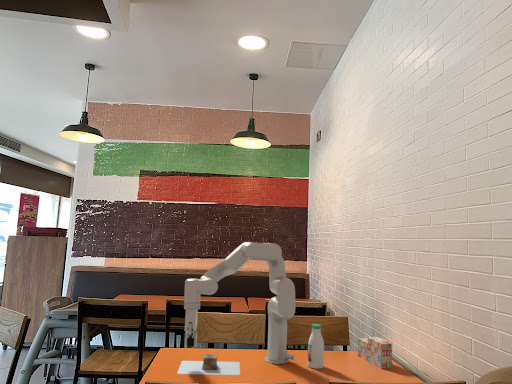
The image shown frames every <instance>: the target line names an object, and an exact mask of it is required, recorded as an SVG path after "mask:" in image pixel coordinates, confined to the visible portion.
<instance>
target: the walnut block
mask: <svg viewBox="0 0 512 384" xmlns="http://www.w3.org/2000/svg"><path fill="white" fill-rule="evenodd" d="M202 361H203V369H209V370H216V367H217V361H218V353H216V354H215V353H214V354H212V353H204V355H203V360H202Z"/></svg>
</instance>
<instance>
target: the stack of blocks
mask: <svg viewBox="0 0 512 384" xmlns="http://www.w3.org/2000/svg"><path fill="white" fill-rule="evenodd" d="M357 356H358V357H360V358H362V360H365V361H367V362H368V363H371V364H372V365H374V366H375V367H377V368H379V369H381V370H384V369H393V361H392V360H393V359H392V358H393V343H392V342H390V341H389V340H386V339H383V338H381V337H378V336H369V337H363V338H362V337H361V338H357Z"/></svg>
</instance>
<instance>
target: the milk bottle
mask: <svg viewBox="0 0 512 384" xmlns="http://www.w3.org/2000/svg"><path fill="white" fill-rule="evenodd" d="M321 330H322V325H321V324H319V323H312V324H311V334H310V335H309V339H308V346H307V366H308V367H309V368H311V369H317V370H320V369H323V368H324V364H325V363H324V362H325V361H324V360H325V358H324V356H325V343H324V338H323V335H322V331H321Z"/></svg>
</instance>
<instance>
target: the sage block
mask: <svg viewBox="0 0 512 384" xmlns="http://www.w3.org/2000/svg"><path fill="white" fill-rule="evenodd" d="M192 333H193V332H192ZM187 336H188V330H187V331H186V332H185V336H184V337H185V339H184V347H185V348H188V347H187ZM197 346H198V331H197V330H195V331H194V347H193V348H196V347H197Z"/></svg>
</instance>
